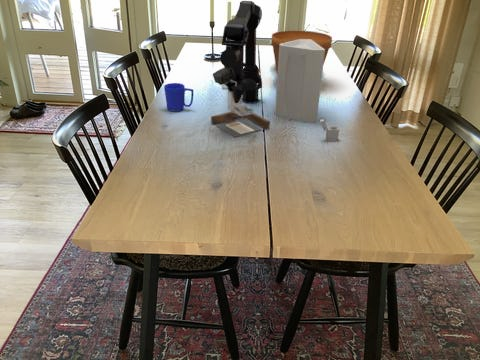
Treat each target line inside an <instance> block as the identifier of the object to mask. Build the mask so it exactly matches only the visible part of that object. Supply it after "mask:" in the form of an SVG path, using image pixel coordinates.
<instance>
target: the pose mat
mask: <svg viewBox="0 0 480 360" xmlns="http://www.w3.org/2000/svg"><path fill="white" fill-rule="evenodd" d="M215 125H216V127H217V128H218V129H220V130H222V131H223V132H225V133H227V134H228V135H230V136H231V137H233V138H237V137H242V136H245V135H248V134H253V133H257V132H261V131H263V129H262V127H260V126H259V127H258V125H256V124H254V123H251V122H250V121H249V120H247V119H245V118H240V119H236V120H232V121H227V122H223V123H219V124H215Z"/></svg>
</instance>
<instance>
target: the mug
mask: <svg viewBox="0 0 480 360" xmlns="http://www.w3.org/2000/svg"><path fill="white" fill-rule="evenodd" d="M163 91H164V95H165V103H166V107H167V108H166V109H168V110H169V111H170V112H171V111H172V112H179V111H182V110H183V109H184V107H186V108H188V107H189V108H190V107H191V106H192V105H193V101H194V89H192V88H189V87H187V88H186V87H185V85H184V84H183V83H180V82H172V83H166V84H165V85H164V86H163ZM186 91H189V92H191V94H190V95H191V96H190V97H191V98H190V103H189V104H186V102H185V101H186V98H185V95H186V93H185V92H186Z"/></svg>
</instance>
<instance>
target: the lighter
mask: <svg viewBox="0 0 480 360" xmlns="http://www.w3.org/2000/svg"><path fill="white" fill-rule="evenodd" d="M319 122H320V125H321V127H322V129H323V131H324V132H325V134H326V135H325V141H326V142H338V141H339V136H340V135H339V134H340V128H339V127H338V126H336V125H330V127H328V126H327V124H326V121H325V119H324V118H321V119H319Z"/></svg>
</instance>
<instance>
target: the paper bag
mask: <svg viewBox="0 0 480 360" xmlns="http://www.w3.org/2000/svg"><path fill="white" fill-rule="evenodd" d="M324 54H325V49H324V48H322V47H321V46H320V45H318V44H317V43H315V42H314V41H313V40H311V39H299V40H294V41H290V42H285V43H281V44H279V60H278V75H277V74H276V75H277V77H276V78H277V79H276V94H275V107H274V110H275V111H274V115H275V116H276V117H278V118H284V119H288V120H293V121H297V122H302V123H317V122H318V114H319V103H320V95H321V86H322V81H323V79H322V78H323V70H324V65H323V63H324V64H325V62H324Z"/></svg>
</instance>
